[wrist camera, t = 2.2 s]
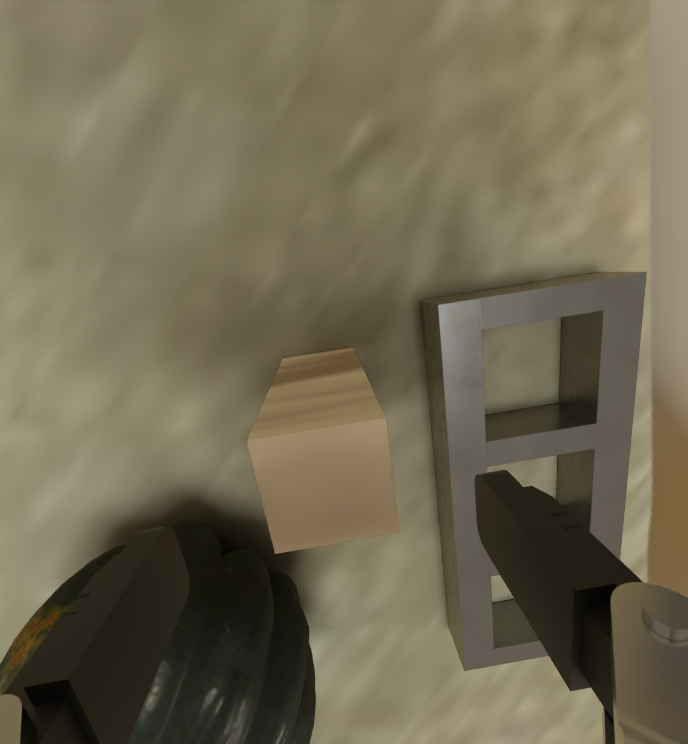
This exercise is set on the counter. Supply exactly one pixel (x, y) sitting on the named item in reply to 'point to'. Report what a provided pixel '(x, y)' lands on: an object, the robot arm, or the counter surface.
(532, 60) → the counter surface
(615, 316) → the gray slotted tray
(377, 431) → the square peg
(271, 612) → the squash
